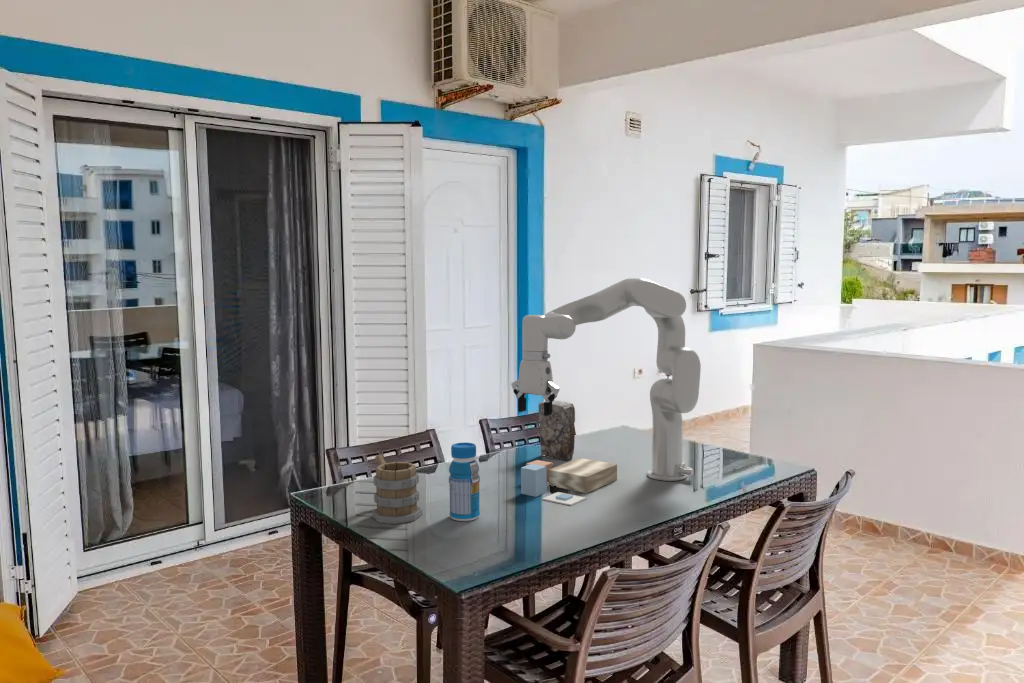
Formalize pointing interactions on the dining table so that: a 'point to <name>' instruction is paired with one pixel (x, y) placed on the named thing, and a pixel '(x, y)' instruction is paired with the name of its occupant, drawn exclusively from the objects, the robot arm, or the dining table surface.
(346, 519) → the dining table surface
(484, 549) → the dining table surface
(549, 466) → the terracotta cube
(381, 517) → the tankard
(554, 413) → the stone block
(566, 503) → the card
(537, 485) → the blue block
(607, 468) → the ash base block
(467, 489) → the beverage bottle
